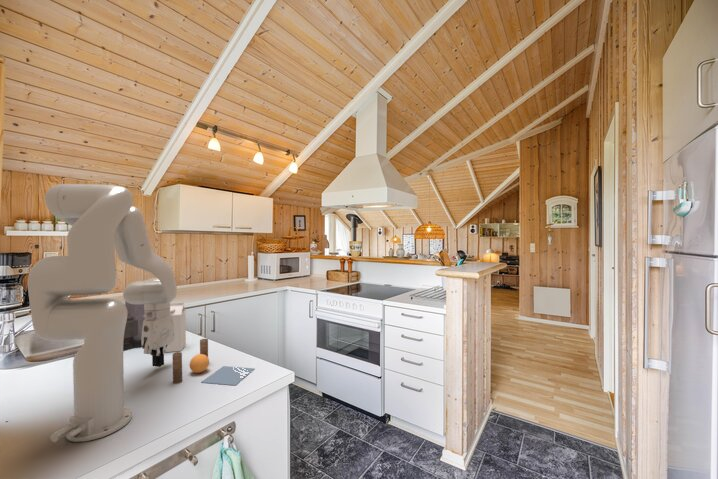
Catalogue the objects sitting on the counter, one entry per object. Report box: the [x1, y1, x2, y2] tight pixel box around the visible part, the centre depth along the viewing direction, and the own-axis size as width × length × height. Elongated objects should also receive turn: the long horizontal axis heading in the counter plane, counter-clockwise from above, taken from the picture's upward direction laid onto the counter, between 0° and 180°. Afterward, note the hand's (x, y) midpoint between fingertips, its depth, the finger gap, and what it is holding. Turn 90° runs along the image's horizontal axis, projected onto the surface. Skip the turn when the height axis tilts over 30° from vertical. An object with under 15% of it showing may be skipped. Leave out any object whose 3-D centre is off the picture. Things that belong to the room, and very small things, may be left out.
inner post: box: [172, 351, 183, 384], centre depth 100 cm, size 3×3×9 cm
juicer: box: [84, 300, 145, 352], centre depth 131 cm, size 30×16×24 cm, turn 145°
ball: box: [189, 353, 210, 374], centre depth 107 cm, size 6×6×6 cm
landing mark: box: [201, 365, 256, 386], centre depth 104 cm, size 12×12×1 cm
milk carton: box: [165, 302, 187, 353], centre depth 127 cm, size 7×7×19 cm
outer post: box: [199, 338, 209, 358], centre depth 113 cm, size 3×3×9 cm
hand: (158, 365), depth 108 cm, fingers closed
